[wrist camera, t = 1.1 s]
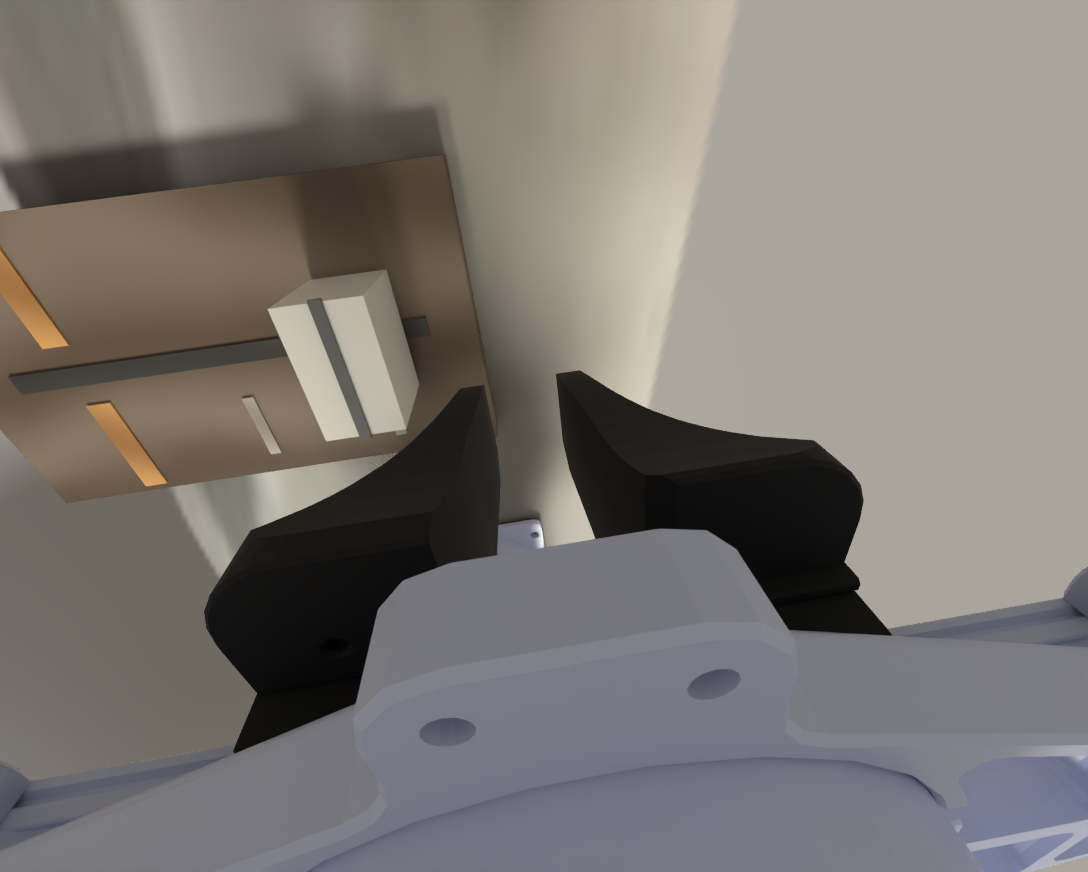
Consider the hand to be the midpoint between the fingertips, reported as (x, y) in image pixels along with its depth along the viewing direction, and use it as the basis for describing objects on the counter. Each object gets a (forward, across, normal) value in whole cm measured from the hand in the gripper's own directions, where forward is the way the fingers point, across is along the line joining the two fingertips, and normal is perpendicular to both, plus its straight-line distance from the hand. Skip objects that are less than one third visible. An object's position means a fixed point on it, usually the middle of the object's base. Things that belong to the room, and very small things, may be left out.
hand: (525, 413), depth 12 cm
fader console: (+10, +12, 0) cm, 16 cm away
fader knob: (+9, +6, 0) cm, 11 cm away
